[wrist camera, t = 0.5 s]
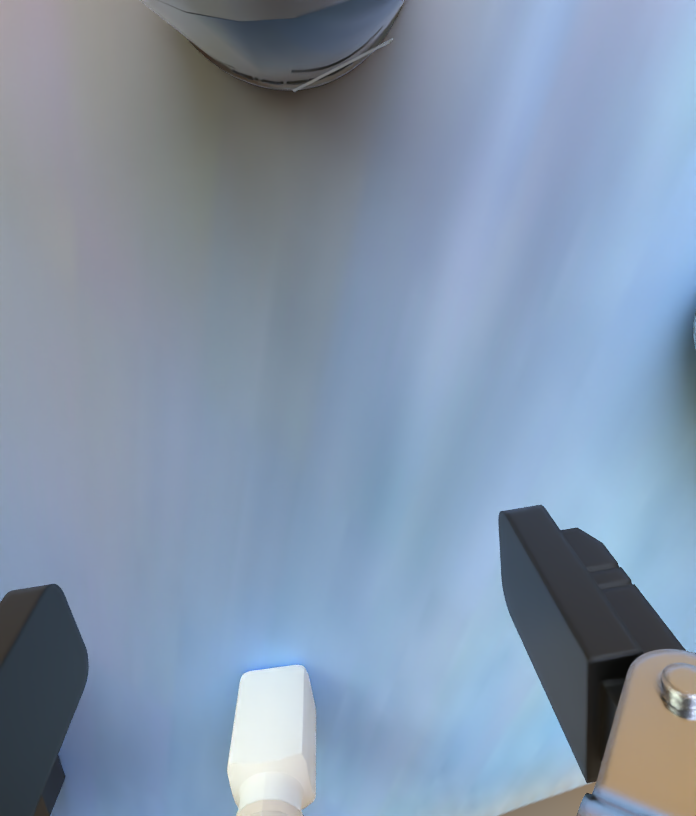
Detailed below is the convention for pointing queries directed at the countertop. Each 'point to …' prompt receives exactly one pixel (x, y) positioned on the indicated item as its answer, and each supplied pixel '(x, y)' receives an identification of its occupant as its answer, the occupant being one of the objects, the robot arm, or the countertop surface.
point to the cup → (694, 330)
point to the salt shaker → (273, 743)
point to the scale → (51, 790)
